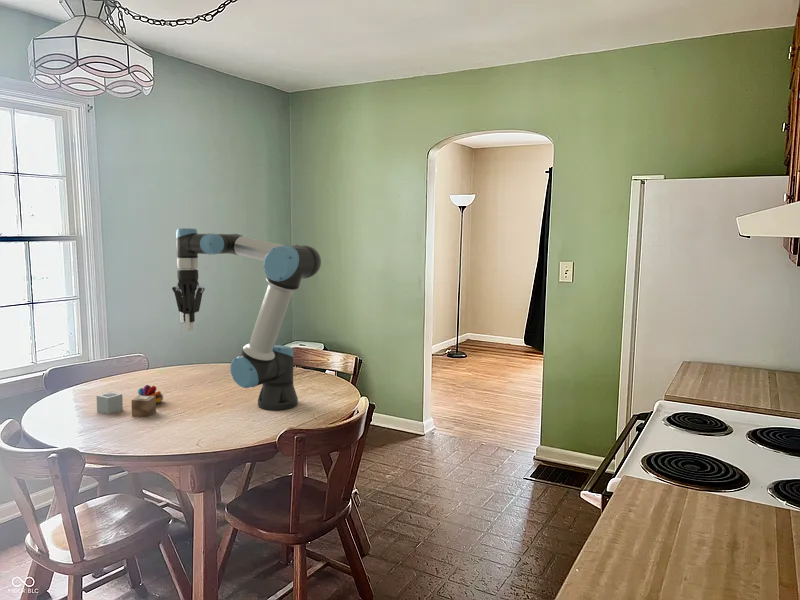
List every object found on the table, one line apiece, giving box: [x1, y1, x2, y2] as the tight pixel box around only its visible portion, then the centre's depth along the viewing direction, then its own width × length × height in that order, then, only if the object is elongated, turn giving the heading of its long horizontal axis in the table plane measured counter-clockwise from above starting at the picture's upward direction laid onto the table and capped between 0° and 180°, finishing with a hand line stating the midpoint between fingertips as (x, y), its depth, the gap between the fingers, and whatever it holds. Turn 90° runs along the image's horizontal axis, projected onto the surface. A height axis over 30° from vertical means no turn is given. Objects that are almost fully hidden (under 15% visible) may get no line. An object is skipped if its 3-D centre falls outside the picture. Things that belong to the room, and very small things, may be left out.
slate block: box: [96, 391, 124, 415], centre depth 215 cm, size 6×6×6 cm
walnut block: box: [131, 396, 157, 418], centre depth 212 cm, size 6×6×6 cm
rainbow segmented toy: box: [134, 384, 164, 404], centre depth 225 cm, size 8×10×7 cm
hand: (189, 330), depth 228 cm, fingers closed
